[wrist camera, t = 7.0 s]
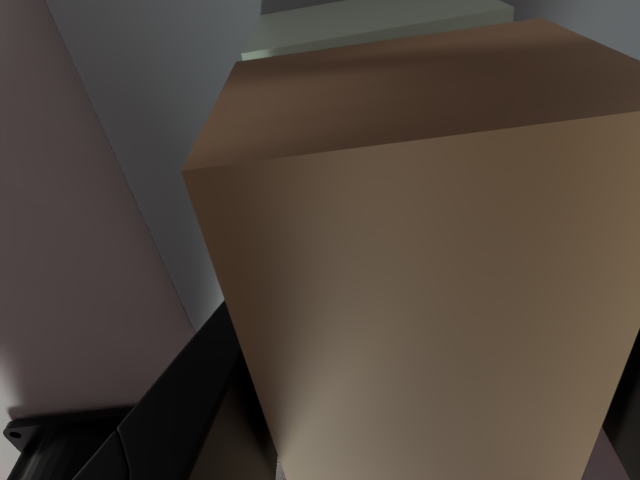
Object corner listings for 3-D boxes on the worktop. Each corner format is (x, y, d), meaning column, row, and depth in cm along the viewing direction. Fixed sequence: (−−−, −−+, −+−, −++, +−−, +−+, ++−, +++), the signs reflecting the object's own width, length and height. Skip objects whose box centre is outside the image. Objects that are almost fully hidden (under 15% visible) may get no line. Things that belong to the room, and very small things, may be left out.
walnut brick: (305, 365, 11) (303, 531, 8) (236, 61, 7) (181, 171, 4) (497, 345, 11) (569, 510, 8) (542, 17, 7) (729, 99, 4)
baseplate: (203, 332, 18) (176, 433, 14) (-1, -135, 9) (-177, -161, 6) (580, 285, 16) (651, 382, 13) (712, -285, 8) (987, -422, 5)
